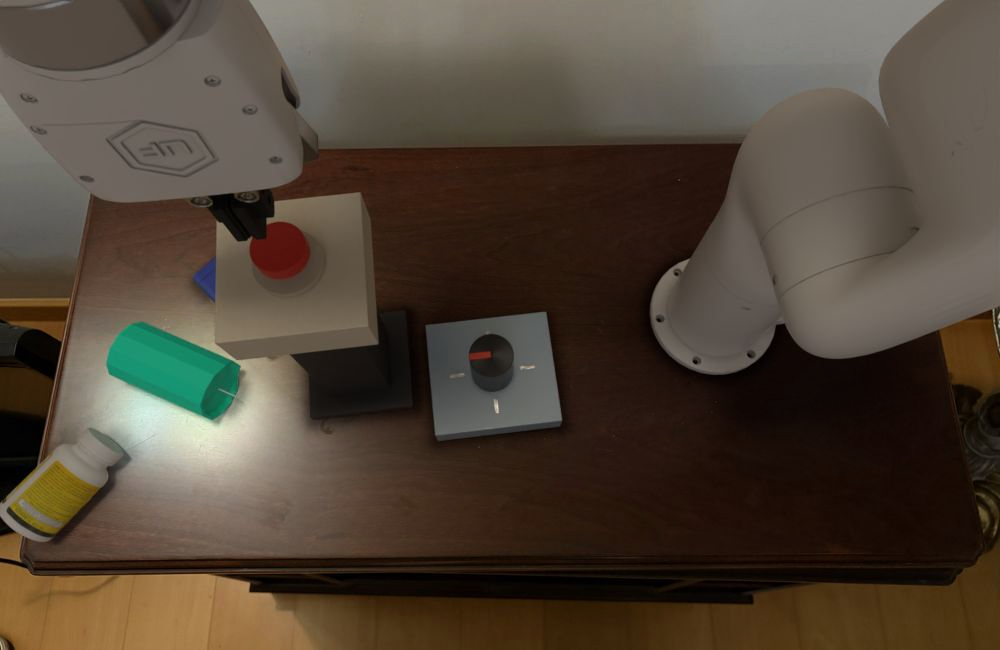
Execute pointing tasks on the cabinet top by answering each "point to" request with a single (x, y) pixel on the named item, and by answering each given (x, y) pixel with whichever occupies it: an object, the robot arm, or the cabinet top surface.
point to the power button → (280, 251)
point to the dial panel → (502, 411)
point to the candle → (174, 369)
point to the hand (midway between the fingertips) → (252, 217)
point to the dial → (491, 362)
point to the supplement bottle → (60, 486)
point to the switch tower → (318, 311)
